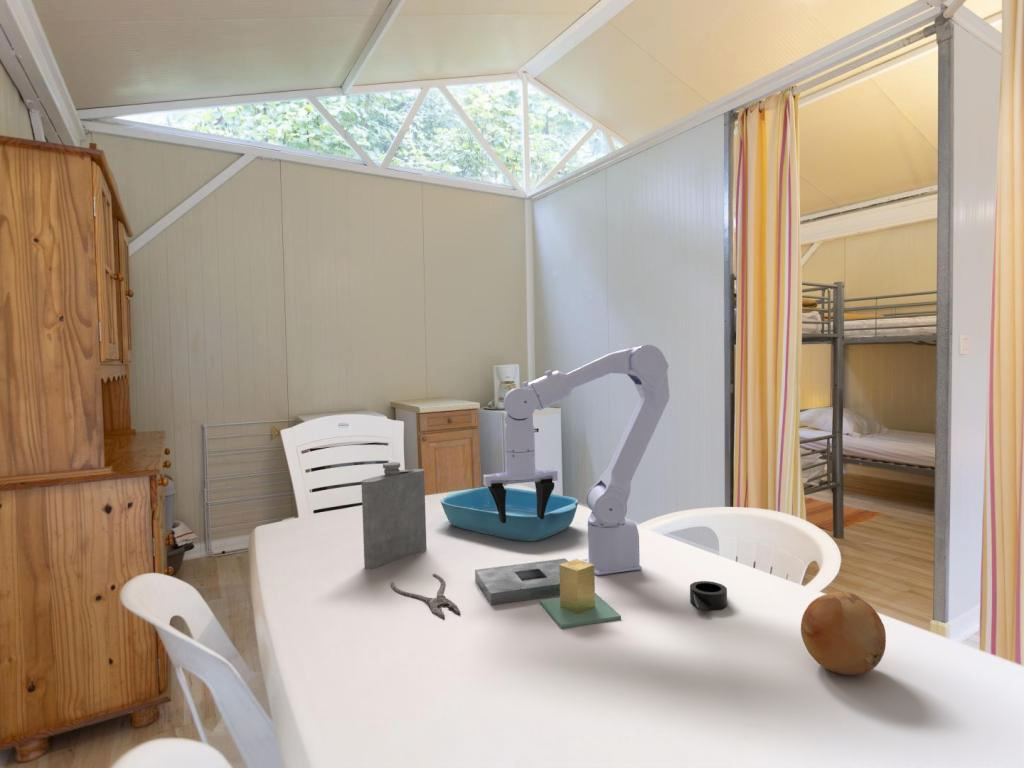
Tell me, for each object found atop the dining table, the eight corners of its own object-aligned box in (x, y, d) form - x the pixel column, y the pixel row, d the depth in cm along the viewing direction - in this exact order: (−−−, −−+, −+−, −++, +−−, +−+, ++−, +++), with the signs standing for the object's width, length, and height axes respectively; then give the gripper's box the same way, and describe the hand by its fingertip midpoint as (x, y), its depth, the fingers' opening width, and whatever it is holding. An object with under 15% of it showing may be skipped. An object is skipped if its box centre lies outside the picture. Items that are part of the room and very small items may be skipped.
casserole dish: (424, 525, 151) (423, 497, 151) (483, 507, 168) (483, 482, 168) (541, 552, 128) (541, 519, 127) (597, 528, 145) (596, 499, 144)
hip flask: (371, 570, 119) (367, 470, 118) (358, 566, 122) (354, 468, 121) (429, 548, 132) (426, 458, 131) (417, 545, 134) (414, 456, 133)
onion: (825, 644, 84) (825, 574, 84) (902, 674, 76) (902, 597, 75) (784, 664, 79) (783, 590, 79) (862, 699, 71) (862, 616, 70)
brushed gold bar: (577, 600, 100) (576, 558, 100) (595, 607, 97) (594, 564, 97) (560, 606, 98) (559, 564, 98) (577, 614, 95) (576, 570, 94)
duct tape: (669, 603, 100) (669, 586, 100) (711, 591, 105) (711, 574, 105) (704, 620, 93) (704, 602, 93) (748, 606, 98) (748, 588, 98)
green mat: (594, 595, 104) (594, 592, 104) (621, 618, 94) (620, 615, 94) (539, 603, 101) (539, 600, 101) (561, 628, 91) (561, 625, 91)
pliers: (430, 570, 117) (492, 600, 101) (430, 574, 117) (492, 605, 101) (385, 583, 111) (444, 617, 95) (385, 587, 111) (444, 622, 95)
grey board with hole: (565, 568, 117) (565, 558, 117) (590, 590, 105) (589, 579, 105) (475, 580, 112) (474, 569, 112) (491, 605, 100) (490, 593, 100)
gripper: (548, 445, 122) (550, 511, 122) (478, 449, 118) (480, 518, 118) (560, 449, 115) (562, 520, 115) (487, 455, 111) (489, 527, 111)
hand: (521, 519), depth 116 cm, fingers open, 7 cm apart
